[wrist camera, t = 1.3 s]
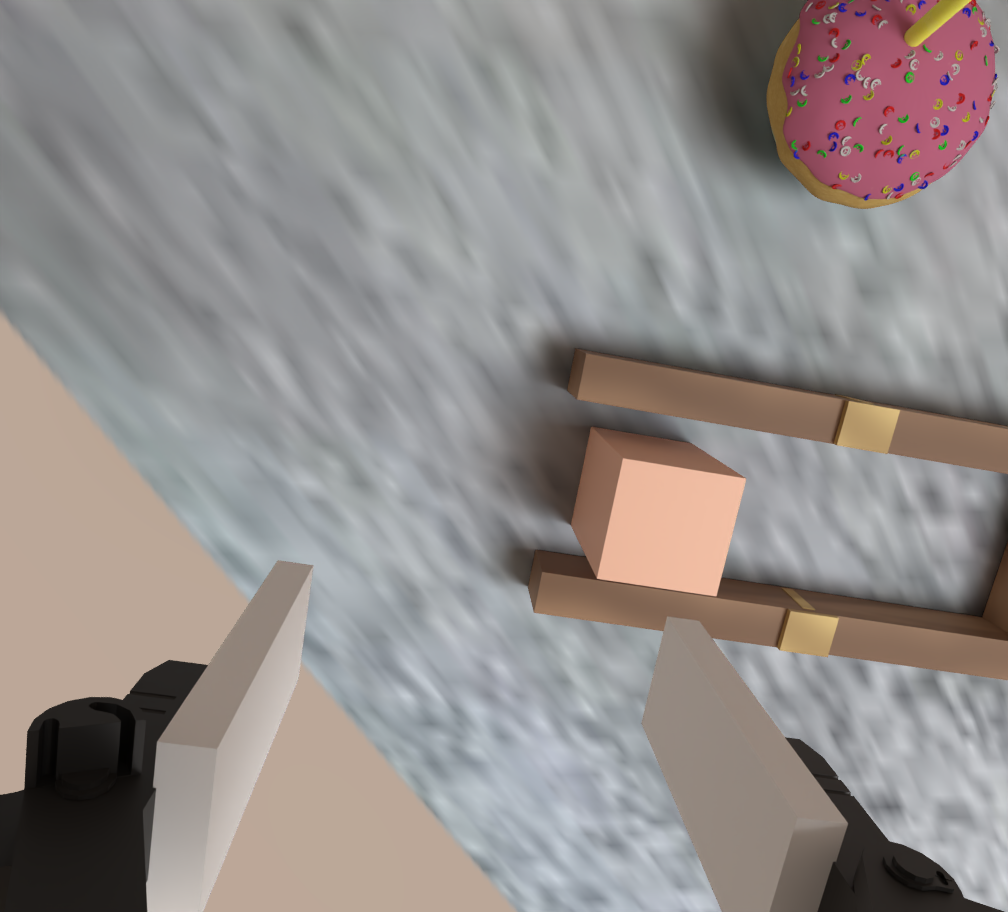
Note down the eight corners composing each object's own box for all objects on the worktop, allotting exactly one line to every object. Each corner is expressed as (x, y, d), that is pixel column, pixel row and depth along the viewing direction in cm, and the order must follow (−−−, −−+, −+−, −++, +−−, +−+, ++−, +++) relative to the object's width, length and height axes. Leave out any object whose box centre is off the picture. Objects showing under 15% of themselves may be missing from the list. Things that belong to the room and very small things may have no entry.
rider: (591, 426, 35) (623, 458, 28) (691, 443, 36) (746, 478, 29) (570, 525, 36) (596, 578, 29) (668, 540, 37) (716, 596, 30)
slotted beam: (575, 347, 34) (587, 353, 31) (1081, 438, 37) (1140, 452, 34) (527, 588, 37) (534, 616, 34) (1004, 657, 39) (1053, 690, 36)
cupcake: (709, 48, 32) (855, -93, 20) (896, -20, 32) (1151, -201, 20) (758, 242, 34) (918, 217, 22) (935, 180, 34) (1188, 121, 22)
